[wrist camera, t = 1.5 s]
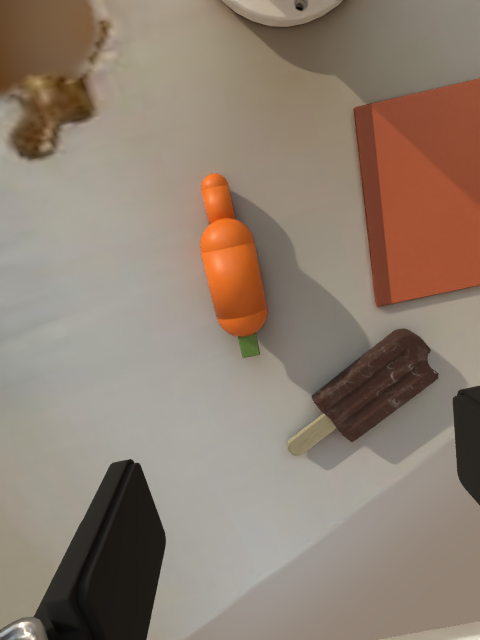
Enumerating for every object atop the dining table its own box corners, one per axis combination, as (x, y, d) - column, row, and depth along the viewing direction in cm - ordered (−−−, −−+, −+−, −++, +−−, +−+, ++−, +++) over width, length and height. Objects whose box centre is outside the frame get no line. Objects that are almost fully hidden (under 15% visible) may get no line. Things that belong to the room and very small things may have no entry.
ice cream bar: (306, 463, 33) (438, 364, 31) (309, 475, 32) (449, 371, 29) (270, 427, 32) (404, 321, 30) (271, 438, 31) (413, 327, 28)
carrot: (186, 181, 27) (179, 174, 23) (238, 169, 26) (239, 160, 23) (226, 349, 30) (226, 368, 26) (272, 340, 30) (278, 357, 26)
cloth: (353, 108, 25) (354, 107, 25) (520, 70, 25) (523, 68, 25) (375, 306, 29) (377, 306, 29) (520, 275, 29) (523, 275, 29)
